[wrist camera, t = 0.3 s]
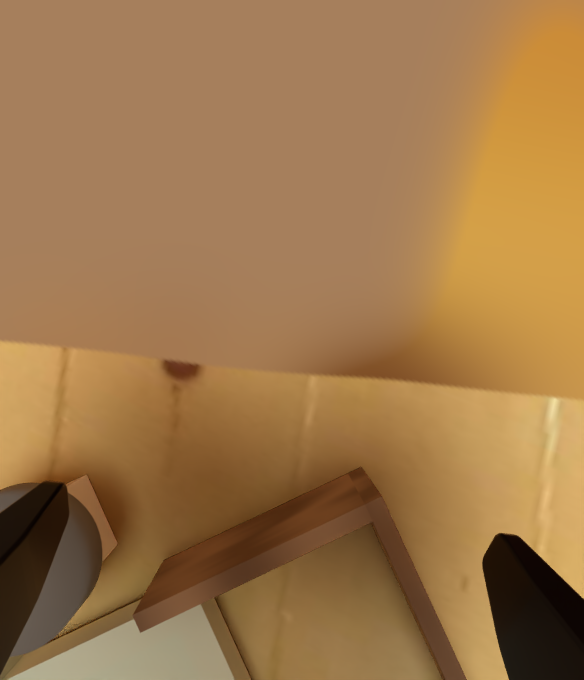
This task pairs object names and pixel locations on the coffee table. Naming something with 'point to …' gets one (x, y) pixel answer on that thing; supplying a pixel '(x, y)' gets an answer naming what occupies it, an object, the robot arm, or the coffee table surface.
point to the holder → (293, 557)
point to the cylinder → (61, 573)
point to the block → (93, 511)
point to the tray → (137, 650)
